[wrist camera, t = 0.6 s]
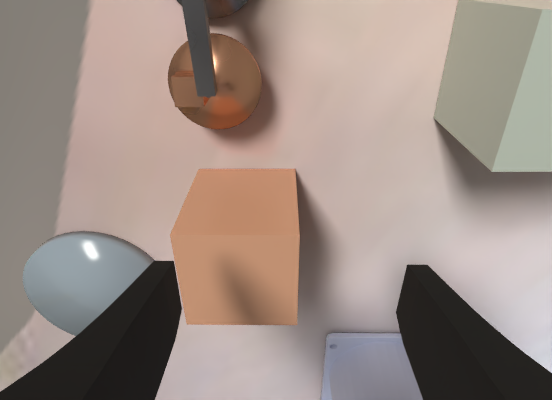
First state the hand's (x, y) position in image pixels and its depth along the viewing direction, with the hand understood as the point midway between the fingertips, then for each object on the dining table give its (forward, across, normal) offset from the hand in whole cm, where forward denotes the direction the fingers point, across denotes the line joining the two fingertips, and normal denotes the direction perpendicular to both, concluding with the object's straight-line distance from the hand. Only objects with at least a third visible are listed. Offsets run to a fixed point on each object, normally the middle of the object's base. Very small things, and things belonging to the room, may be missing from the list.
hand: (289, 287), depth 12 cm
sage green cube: (+10, -10, -5) cm, 15 cm away
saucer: (+10, +12, +9) cm, 18 cm away
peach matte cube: (+10, +2, +3) cm, 10 cm away
